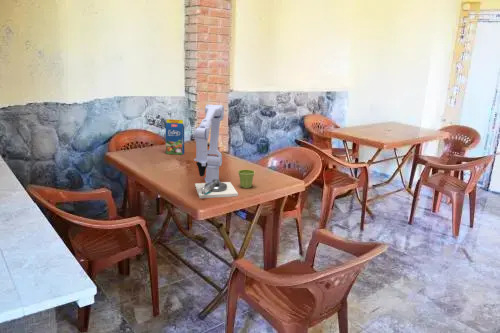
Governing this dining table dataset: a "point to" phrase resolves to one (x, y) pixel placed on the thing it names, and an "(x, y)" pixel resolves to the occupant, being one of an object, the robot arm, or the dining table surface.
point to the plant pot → (246, 178)
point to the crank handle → (214, 187)
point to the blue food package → (174, 137)
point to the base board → (226, 193)
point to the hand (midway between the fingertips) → (201, 175)
